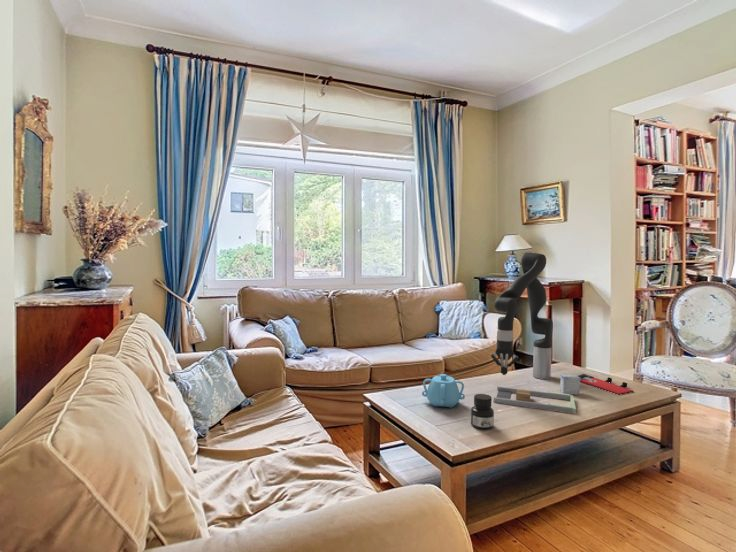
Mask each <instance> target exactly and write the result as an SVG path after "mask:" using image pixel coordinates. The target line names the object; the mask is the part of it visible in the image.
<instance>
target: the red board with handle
mask: <svg viewBox="0 0 736 552" xmlns="http://www.w3.org/2000/svg"><path fill="white" fill-rule="evenodd" d="M576 375H577V376H578V377H579V378H580V384H584V385H588V386H590V385H591V386H590V387H593V386H594V387H593V388H596V387H597V388H596V389H599V388H600V389H599V390H601V389H603V391H604V390H606V391H605V392H607V391H609V392H608V393H610V392H612V393H611V394H613V393H615V394H614V395H616V394H618V395H617V396H621V395H620V394H622V395H626V394H625V393H627V394H631V393H630V392H632V393H634V390H633V389H630V388H628V382H625V381H623V382H622V383H621V385H618V384H614V383H613V377H607V378H606V380H603V379H600V378H598V377H597V378H596V377H595V376H592V375H589V374H586V373H581V374H576ZM609 382H610V383H609ZM611 382H612V383H611ZM625 387H627V388H625Z"/></svg>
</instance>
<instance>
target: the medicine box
mask: <svg viewBox="0 0 736 552" xmlns="http://www.w3.org/2000/svg"><path fill="white" fill-rule="evenodd" d="M577 375H578V374H560V383H559V384H560V386H559V387H560V389H559V391H560V393H563V394H570V395H580V389H581V387H580V386H581V382H580V380H581V378H579V377H578V376H577Z"/></svg>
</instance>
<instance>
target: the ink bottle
mask: <svg viewBox="0 0 736 552" xmlns="http://www.w3.org/2000/svg"><path fill="white" fill-rule="evenodd" d="M492 398H493V397H492V396H491V395H489V394H486V393H476V394H474V397H473V405H474V406H472V407H471V409H470V411H471V413H470V424H471V426H472V427H473V428H475V429H478V430H485V431H486V430H491V429H493V428H494V427H495V426H494V425H495V412H494V409H493V408H492V400H493V399H492Z"/></svg>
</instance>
